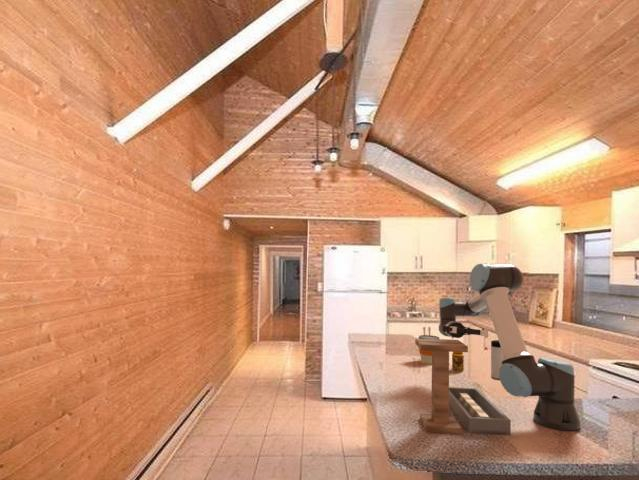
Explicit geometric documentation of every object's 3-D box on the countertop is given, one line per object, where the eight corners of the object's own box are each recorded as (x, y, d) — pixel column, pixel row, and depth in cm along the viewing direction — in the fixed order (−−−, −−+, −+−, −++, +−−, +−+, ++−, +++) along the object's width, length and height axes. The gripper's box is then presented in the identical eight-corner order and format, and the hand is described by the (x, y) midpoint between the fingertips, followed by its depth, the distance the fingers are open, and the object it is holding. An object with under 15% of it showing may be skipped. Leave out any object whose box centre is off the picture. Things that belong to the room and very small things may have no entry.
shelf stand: (414, 418, 149) (415, 338, 150) (457, 420, 148) (457, 339, 149) (420, 432, 137) (421, 344, 138) (467, 434, 136) (467, 346, 137)
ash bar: (459, 400, 168) (459, 392, 168) (466, 400, 167) (466, 393, 168) (480, 425, 142) (480, 416, 142) (489, 425, 141) (489, 416, 142)
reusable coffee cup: (442, 361, 238) (442, 336, 239) (436, 366, 228) (436, 339, 229) (421, 358, 245) (422, 334, 246) (415, 362, 235) (415, 337, 236)
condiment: (457, 372, 214) (457, 350, 215) (446, 368, 222) (446, 347, 223) (467, 371, 217) (467, 349, 218) (456, 367, 225) (456, 346, 226)
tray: (443, 398, 172) (444, 386, 172) (476, 400, 171) (476, 388, 171) (469, 432, 137) (469, 418, 137) (510, 434, 136) (510, 420, 137)
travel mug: (504, 381, 200) (503, 341, 201) (490, 379, 204) (490, 340, 205) (505, 378, 205) (505, 339, 207) (492, 376, 209) (491, 338, 210)
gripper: (480, 340, 190) (500, 343, 169) (428, 334, 190) (442, 337, 169) (480, 324, 191) (500, 325, 170) (429, 319, 191) (442, 319, 171)
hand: (471, 331), depth 170 cm, fingers open, 13 cm apart
